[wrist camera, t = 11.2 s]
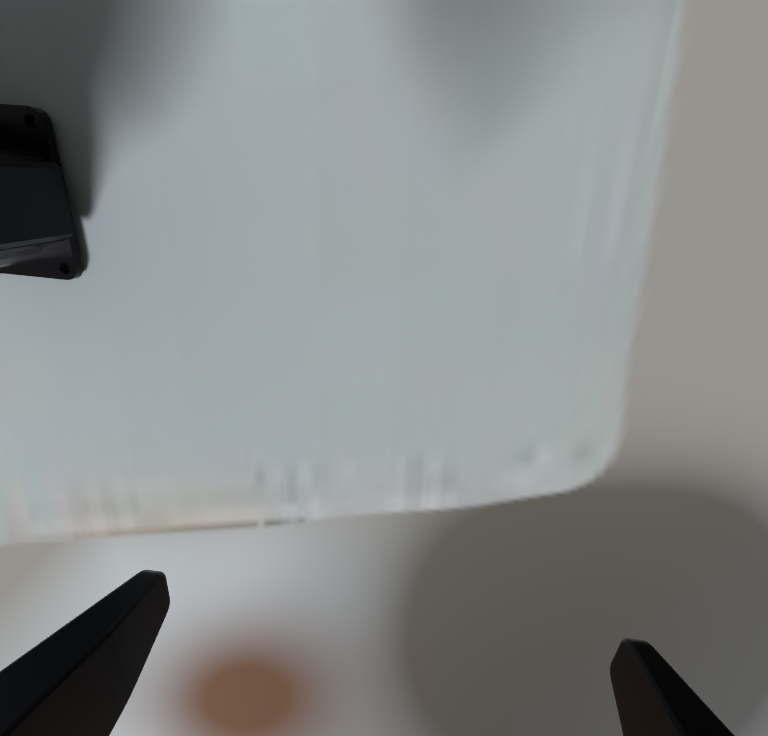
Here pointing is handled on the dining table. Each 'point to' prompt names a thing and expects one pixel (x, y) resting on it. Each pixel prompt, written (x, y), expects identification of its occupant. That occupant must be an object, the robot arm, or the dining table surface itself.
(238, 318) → the dining table surface
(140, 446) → the dining table surface
